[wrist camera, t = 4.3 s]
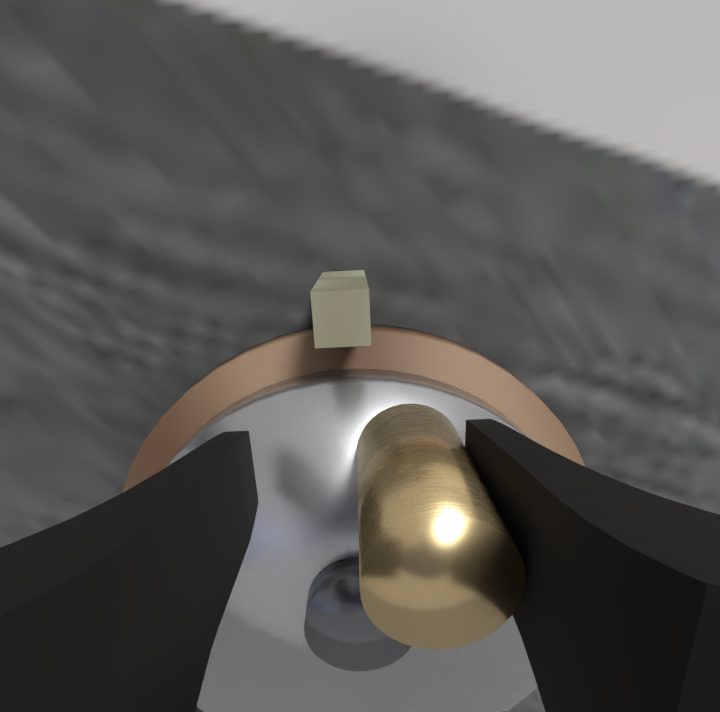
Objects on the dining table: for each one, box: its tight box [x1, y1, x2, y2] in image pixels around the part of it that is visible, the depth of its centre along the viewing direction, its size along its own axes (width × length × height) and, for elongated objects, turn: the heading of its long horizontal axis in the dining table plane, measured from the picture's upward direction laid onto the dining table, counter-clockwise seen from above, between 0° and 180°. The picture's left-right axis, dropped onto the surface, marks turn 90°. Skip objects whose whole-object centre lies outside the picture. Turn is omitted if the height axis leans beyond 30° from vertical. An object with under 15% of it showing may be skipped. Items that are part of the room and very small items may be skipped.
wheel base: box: [122, 270, 585, 493], centre depth 13 cm, size 16×18×4 cm
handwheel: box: [166, 368, 537, 712], centre depth 11 cm, size 14×14×6 cm
